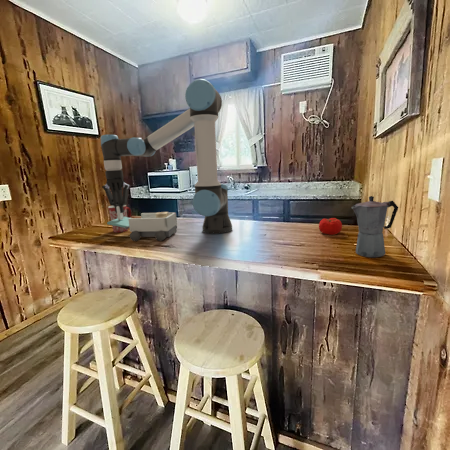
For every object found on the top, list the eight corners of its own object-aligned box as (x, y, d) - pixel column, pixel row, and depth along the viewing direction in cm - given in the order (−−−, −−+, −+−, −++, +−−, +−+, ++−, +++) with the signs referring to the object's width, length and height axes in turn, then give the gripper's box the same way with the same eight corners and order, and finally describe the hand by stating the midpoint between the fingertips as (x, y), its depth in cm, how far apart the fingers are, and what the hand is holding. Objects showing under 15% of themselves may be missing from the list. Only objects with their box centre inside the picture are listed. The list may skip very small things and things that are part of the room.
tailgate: (143, 219, 132) (123, 215, 133) (127, 226, 116) (105, 222, 117) (143, 221, 132) (123, 217, 133) (127, 229, 116) (105, 225, 117)
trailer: (178, 230, 132) (177, 211, 130) (166, 241, 114) (164, 219, 112) (145, 231, 134) (143, 212, 132) (128, 241, 116) (125, 219, 114)
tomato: (318, 235, 113) (318, 221, 112) (319, 229, 123) (319, 216, 122) (342, 237, 110) (343, 222, 108) (341, 230, 120) (342, 217, 118)
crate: (168, 221, 126) (168, 211, 125) (167, 224, 121) (166, 213, 120) (158, 222, 126) (157, 212, 124) (156, 224, 121) (155, 214, 120)
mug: (119, 233, 131) (115, 207, 128) (107, 232, 136) (104, 207, 132) (138, 228, 142) (135, 204, 139) (127, 226, 146) (124, 203, 143)
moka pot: (341, 250, 93) (345, 195, 88) (382, 247, 94) (387, 193, 90) (357, 259, 84) (362, 198, 79) (401, 256, 85) (409, 196, 80)
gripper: (130, 169, 122) (136, 217, 127) (105, 170, 124) (112, 218, 129) (122, 169, 115) (129, 220, 120) (96, 170, 116) (104, 221, 122)
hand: (120, 219), depth 124 cm, fingers closed
